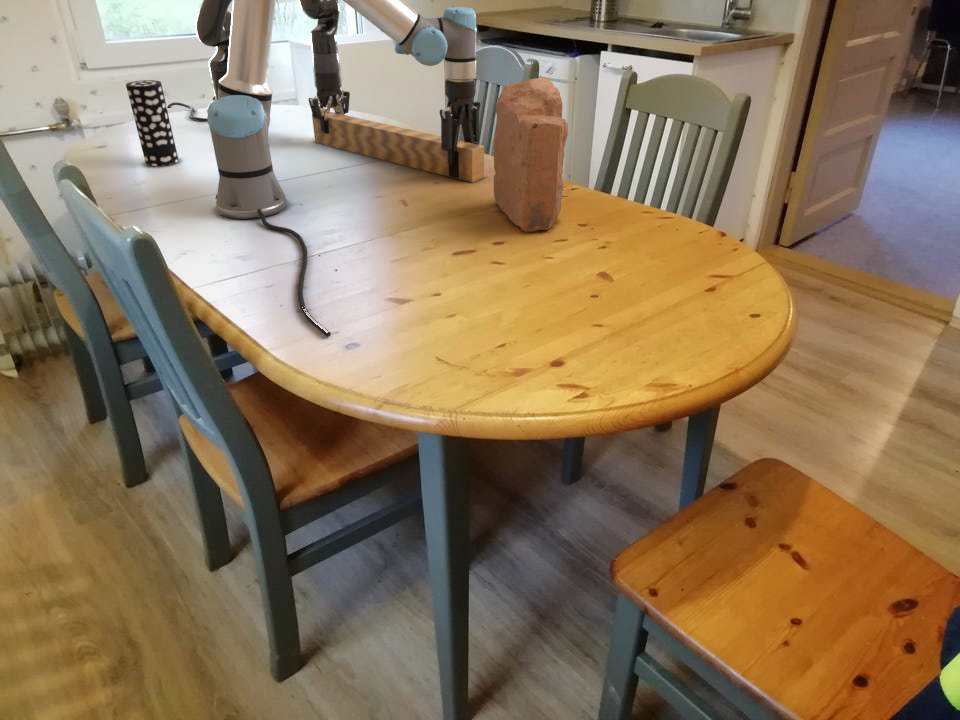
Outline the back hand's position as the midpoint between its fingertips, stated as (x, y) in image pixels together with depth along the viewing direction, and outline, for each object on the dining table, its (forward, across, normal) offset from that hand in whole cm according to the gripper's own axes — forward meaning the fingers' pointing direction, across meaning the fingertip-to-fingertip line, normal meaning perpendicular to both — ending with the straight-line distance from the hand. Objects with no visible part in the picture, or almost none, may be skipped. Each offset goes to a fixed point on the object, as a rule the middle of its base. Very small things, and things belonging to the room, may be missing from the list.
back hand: (333, 131), depth 202 cm
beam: (+4, 0, +24) cm, 24 cm away
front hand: (+3, 0, +48) cm, 48 cm away
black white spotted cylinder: (-7, +42, -22) cm, 48 cm away
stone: (+4, +12, +77) cm, 78 cm away
